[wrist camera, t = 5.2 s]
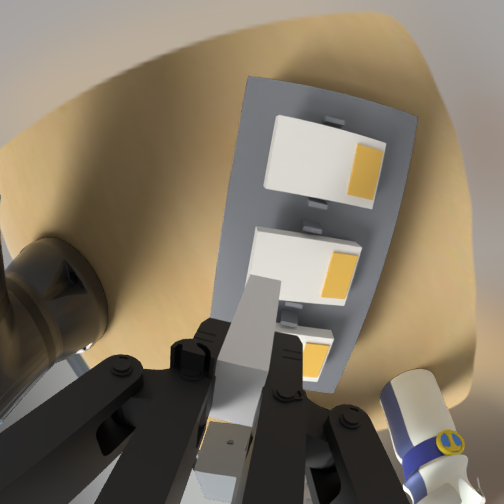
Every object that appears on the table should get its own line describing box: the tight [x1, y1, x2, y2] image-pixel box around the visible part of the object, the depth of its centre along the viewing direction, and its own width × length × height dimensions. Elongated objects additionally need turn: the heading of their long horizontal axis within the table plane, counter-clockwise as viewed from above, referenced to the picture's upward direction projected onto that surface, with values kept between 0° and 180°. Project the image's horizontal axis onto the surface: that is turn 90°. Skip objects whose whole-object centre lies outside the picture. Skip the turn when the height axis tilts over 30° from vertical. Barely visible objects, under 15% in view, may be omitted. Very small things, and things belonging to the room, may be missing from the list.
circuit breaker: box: [193, 421, 313, 504], centre depth 28 cm, size 8×14×15 cm, turn 92°
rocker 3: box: [275, 323, 334, 382], centre depth 22 cm, size 7×4×1 cm, turn 80°
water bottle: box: [380, 369, 486, 504], centre depth 20 cm, size 8×9×25 cm
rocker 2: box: [245, 226, 362, 306], centre depth 20 cm, size 7×4×1 cm, turn 80°
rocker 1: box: [263, 115, 386, 209], centre depth 18 cm, size 7×4×1 cm, turn 80°
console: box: [210, 76, 418, 394], centre depth 24 cm, size 12×24×8 cm, turn 170°
